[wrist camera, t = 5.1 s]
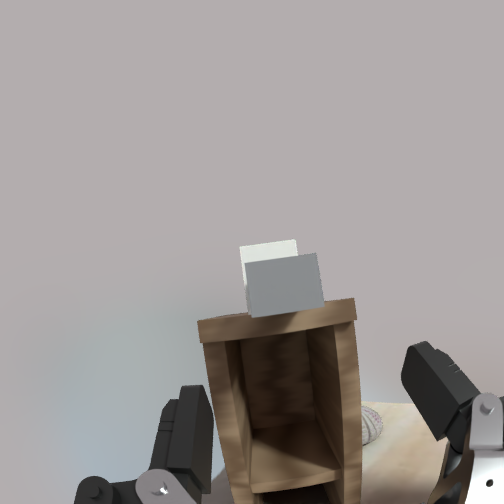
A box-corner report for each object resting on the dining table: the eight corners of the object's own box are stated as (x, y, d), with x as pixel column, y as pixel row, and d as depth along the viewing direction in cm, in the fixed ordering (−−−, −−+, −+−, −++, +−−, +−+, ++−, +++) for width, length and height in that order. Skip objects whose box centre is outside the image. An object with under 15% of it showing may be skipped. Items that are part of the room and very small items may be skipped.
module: (290, 307, 35) (283, 261, 36) (333, 304, 15) (314, 201, 16) (251, 312, 35) (245, 266, 36) (242, 319, 15) (228, 212, 16)
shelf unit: (327, 467, 37) (311, 302, 44) (359, 534, 17) (354, 297, 23) (251, 478, 37) (225, 315, 43) (247, 553, 17) (197, 320, 23)
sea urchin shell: (317, 434, 53) (314, 405, 54) (370, 419, 53) (368, 391, 55) (332, 459, 40) (330, 427, 41) (394, 439, 40) (394, 407, 42)
